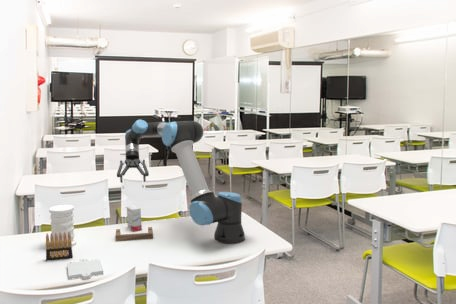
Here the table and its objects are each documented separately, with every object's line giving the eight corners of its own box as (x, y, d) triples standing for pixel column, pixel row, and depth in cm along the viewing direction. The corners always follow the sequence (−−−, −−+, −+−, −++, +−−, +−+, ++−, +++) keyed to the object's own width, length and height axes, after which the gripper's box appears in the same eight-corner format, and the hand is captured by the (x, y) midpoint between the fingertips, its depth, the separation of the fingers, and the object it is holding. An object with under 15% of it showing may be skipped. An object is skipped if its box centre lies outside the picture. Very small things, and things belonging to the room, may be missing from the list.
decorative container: (45, 244, 204) (43, 207, 202) (69, 238, 213) (67, 203, 210) (57, 250, 196) (55, 212, 194) (80, 244, 205) (79, 207, 202)
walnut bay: (153, 238, 213) (153, 233, 213) (115, 241, 209) (115, 236, 209) (152, 231, 224) (152, 226, 223) (116, 233, 220) (116, 229, 220)
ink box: (142, 230, 226) (141, 208, 224) (132, 232, 223) (132, 209, 221) (135, 225, 233) (135, 204, 231) (126, 227, 230) (126, 206, 229)
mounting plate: (66, 265, 181) (66, 261, 181) (98, 260, 186) (98, 256, 186) (69, 283, 165) (69, 278, 165) (104, 277, 170) (104, 273, 170)
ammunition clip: (46, 261, 185) (44, 234, 183) (46, 259, 187) (45, 232, 185) (72, 258, 188) (71, 231, 186) (72, 256, 190) (71, 230, 188)
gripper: (152, 156, 251) (154, 189, 238) (112, 157, 246) (112, 191, 233) (152, 149, 245) (154, 182, 232) (111, 150, 240) (111, 183, 227)
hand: (133, 186), depth 233 cm, fingers open, 10 cm apart
